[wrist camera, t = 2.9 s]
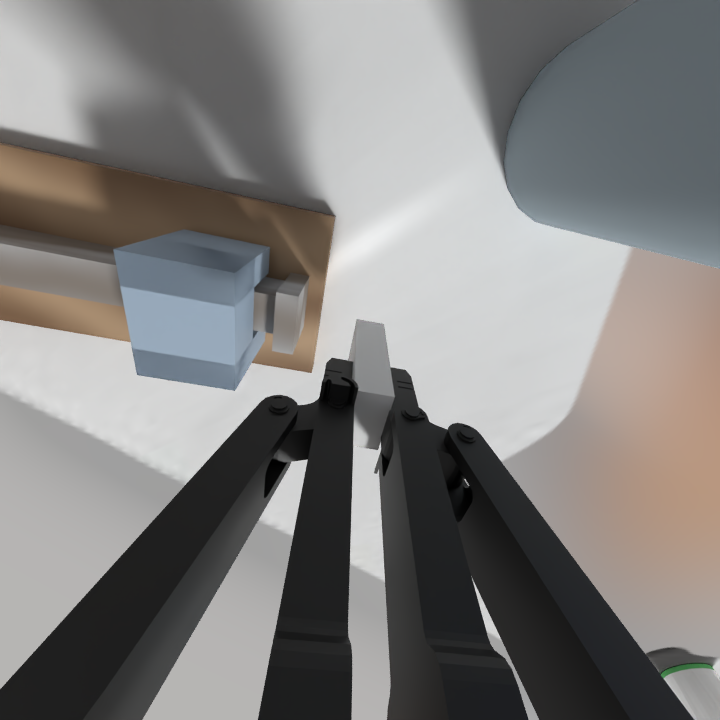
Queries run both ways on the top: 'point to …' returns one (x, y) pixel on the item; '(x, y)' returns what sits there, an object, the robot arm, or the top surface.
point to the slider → (192, 306)
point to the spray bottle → (628, 133)
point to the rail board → (138, 223)
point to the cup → (696, 689)
